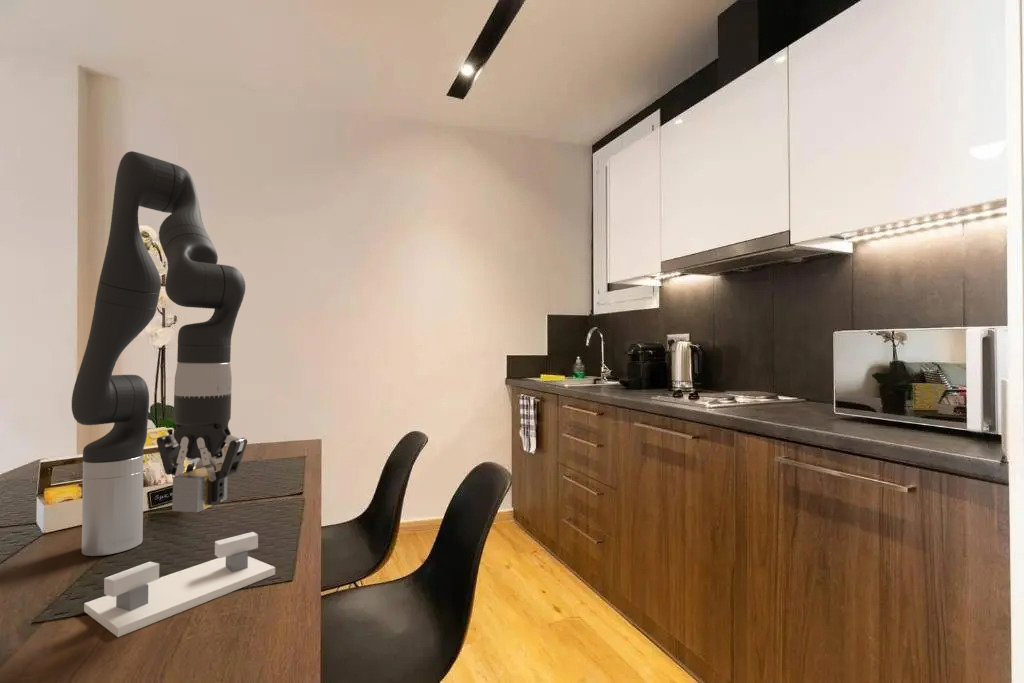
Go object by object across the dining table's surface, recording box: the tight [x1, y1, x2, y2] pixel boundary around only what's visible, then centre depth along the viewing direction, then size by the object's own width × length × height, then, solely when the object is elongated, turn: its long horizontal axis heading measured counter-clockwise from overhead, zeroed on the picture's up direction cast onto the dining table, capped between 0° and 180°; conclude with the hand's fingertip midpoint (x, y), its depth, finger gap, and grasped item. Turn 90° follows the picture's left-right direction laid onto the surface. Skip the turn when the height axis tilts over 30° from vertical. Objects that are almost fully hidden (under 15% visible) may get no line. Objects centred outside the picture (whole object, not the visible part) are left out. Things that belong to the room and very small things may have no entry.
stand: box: [83, 531, 276, 638], centre depth 78 cm, size 12×22×6 cm, turn 147°
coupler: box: [171, 466, 229, 513], centre depth 77 cm, size 4×6×5 cm, turn 174°
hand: (200, 502), depth 77 cm, fingers closed on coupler, 4 cm apart
